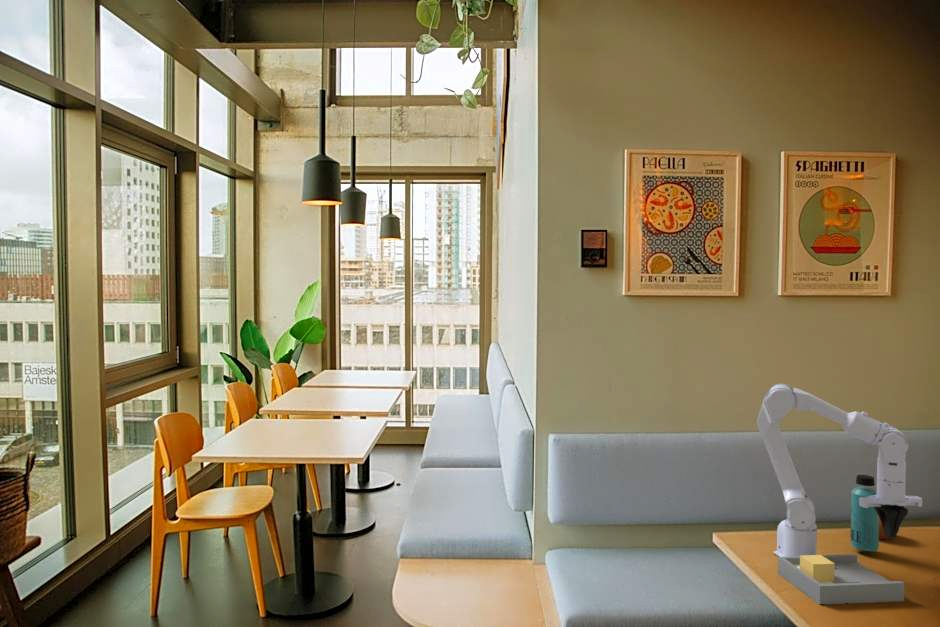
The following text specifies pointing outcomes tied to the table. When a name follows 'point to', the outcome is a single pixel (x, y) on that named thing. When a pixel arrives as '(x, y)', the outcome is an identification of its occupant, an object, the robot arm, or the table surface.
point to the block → (817, 567)
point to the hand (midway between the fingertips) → (890, 536)
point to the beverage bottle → (864, 517)
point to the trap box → (842, 582)
